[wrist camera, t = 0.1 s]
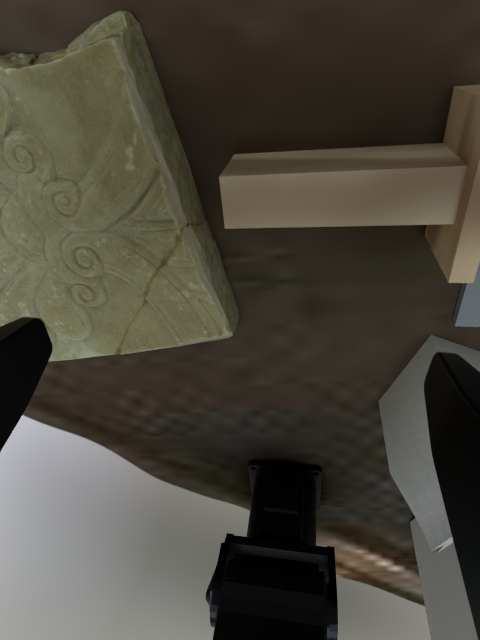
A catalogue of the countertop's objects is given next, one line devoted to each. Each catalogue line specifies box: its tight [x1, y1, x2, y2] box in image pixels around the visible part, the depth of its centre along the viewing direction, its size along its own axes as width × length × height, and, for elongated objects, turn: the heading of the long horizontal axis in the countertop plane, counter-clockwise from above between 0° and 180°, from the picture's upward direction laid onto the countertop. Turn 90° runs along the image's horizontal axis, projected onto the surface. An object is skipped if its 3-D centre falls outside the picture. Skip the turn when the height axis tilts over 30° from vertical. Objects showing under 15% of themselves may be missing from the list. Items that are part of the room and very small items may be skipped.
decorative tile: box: [0, 11, 240, 361], centre depth 23 cm, size 19×20×4 cm
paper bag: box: [378, 335, 480, 553], centre depth 23 cm, size 4×7×10 cm, turn 164°
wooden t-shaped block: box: [219, 85, 480, 283], centre depth 18 cm, size 7×11×5 cm, turn 95°
